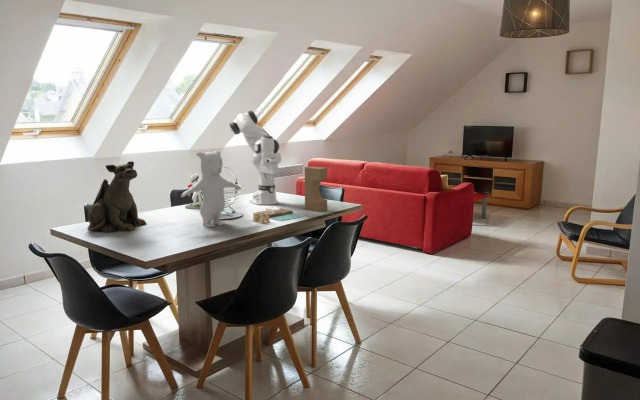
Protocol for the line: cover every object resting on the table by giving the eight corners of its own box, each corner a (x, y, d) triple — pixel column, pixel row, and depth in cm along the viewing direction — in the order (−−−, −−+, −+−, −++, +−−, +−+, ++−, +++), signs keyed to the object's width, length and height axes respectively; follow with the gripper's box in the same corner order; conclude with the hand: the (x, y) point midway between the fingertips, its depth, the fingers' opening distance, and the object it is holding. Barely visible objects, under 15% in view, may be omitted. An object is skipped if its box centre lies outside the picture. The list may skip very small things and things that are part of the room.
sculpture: (118, 237, 283) (113, 165, 276) (76, 229, 300) (70, 162, 293) (160, 226, 309) (156, 160, 302) (119, 220, 327) (115, 158, 320)
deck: (255, 215, 341) (255, 212, 340) (280, 210, 356) (280, 208, 355) (267, 218, 331) (267, 215, 331) (292, 213, 346) (292, 210, 346)
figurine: (195, 204, 381) (193, 170, 377) (213, 205, 374) (212, 172, 370) (180, 208, 366) (178, 173, 362) (199, 210, 359) (197, 174, 355)
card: (265, 211, 345) (265, 208, 345) (272, 209, 349) (272, 207, 349) (273, 213, 339) (273, 210, 338) (280, 211, 343) (280, 208, 342)
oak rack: (252, 221, 323) (252, 212, 322) (260, 219, 327) (260, 211, 326) (262, 223, 316) (261, 215, 315) (269, 222, 320) (269, 213, 319)
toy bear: (191, 233, 292) (188, 154, 284) (176, 228, 304) (172, 153, 296) (250, 221, 322) (248, 150, 314) (234, 217, 334) (232, 148, 326)
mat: (268, 218, 332) (268, 217, 332) (292, 214, 345) (292, 213, 345) (280, 221, 323) (280, 220, 323) (304, 216, 337) (304, 216, 337)
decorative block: (327, 210, 358) (327, 167, 353) (320, 211, 352) (320, 168, 347) (311, 207, 368) (311, 166, 363) (304, 209, 362) (304, 167, 357)
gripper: (257, 158, 353) (257, 178, 356) (271, 160, 337) (271, 181, 339) (265, 158, 357) (265, 178, 359) (279, 160, 340) (279, 180, 342)
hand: (268, 179), depth 349 cm, fingers open, 8 cm apart
